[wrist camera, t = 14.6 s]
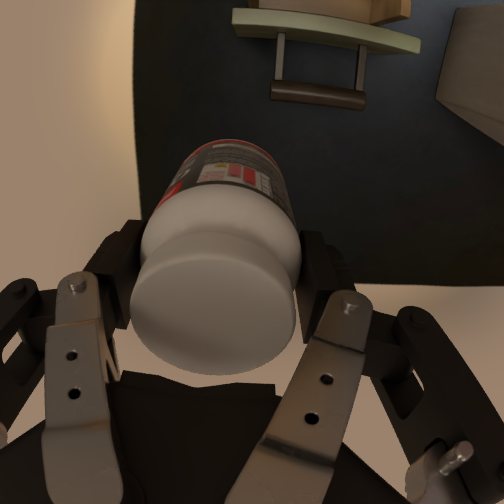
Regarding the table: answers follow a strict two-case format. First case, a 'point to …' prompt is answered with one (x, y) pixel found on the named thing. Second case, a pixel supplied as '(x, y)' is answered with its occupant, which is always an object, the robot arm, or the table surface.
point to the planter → (476, 69)
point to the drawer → (326, 40)
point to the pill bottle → (219, 264)
